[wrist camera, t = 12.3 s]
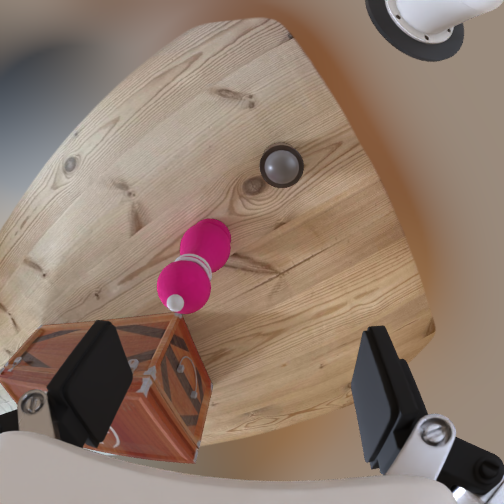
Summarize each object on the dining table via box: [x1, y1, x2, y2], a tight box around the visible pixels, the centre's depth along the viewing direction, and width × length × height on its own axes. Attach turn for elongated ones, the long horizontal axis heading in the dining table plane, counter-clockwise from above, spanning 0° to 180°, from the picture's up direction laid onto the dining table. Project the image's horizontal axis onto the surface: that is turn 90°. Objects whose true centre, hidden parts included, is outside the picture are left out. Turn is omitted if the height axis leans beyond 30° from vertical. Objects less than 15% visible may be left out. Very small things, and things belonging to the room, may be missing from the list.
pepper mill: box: [157, 219, 231, 314], centre depth 38 cm, size 7×7×20 cm
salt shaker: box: [260, 142, 304, 188], centre depth 37 cm, size 5×5×10 cm
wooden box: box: [0, 312, 213, 464], centre depth 51 cm, size 20×41×20 cm, turn 103°
